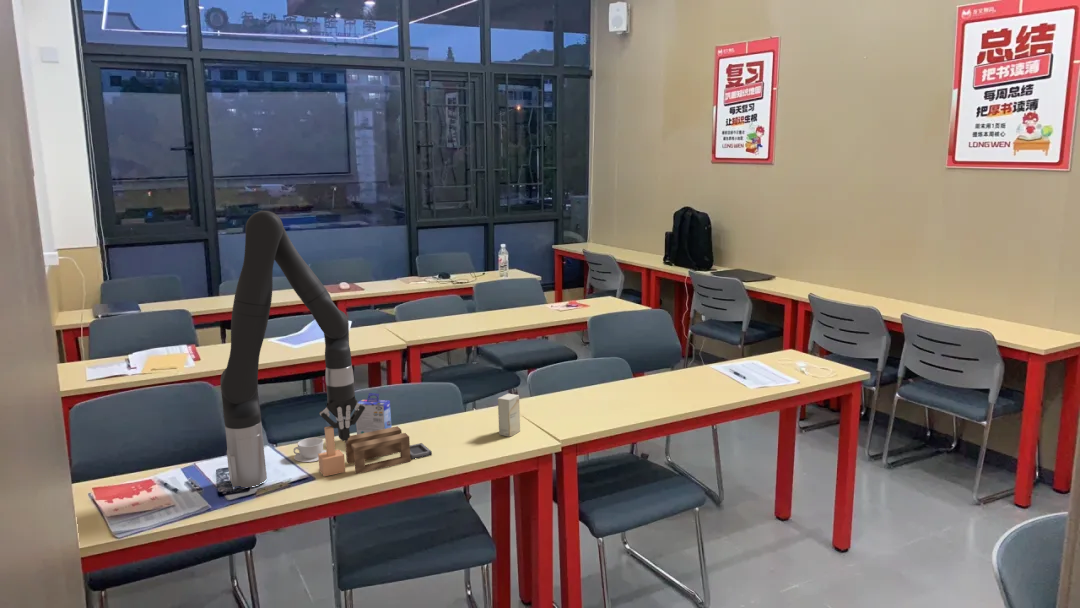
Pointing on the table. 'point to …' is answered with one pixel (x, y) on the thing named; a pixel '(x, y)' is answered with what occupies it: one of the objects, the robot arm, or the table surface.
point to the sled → (331, 456)
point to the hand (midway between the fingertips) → (344, 440)
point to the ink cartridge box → (374, 415)
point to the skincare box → (509, 414)
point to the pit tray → (419, 451)
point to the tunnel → (377, 448)
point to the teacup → (309, 449)
